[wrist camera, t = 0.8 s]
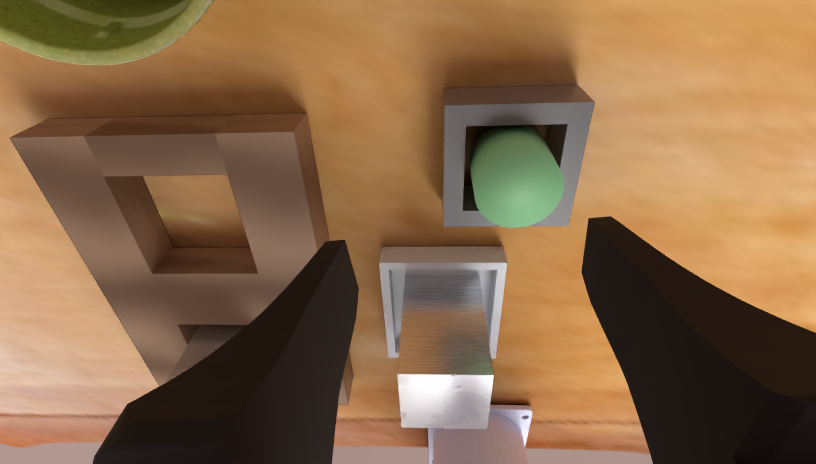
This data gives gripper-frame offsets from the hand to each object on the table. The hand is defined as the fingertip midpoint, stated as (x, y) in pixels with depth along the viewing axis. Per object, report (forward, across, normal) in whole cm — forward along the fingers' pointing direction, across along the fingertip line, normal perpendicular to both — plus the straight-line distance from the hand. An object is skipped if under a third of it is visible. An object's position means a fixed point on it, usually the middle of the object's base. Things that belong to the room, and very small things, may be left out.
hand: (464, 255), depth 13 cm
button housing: (+10, -2, +1) cm, 10 cm away
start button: (+8, -2, +1) cm, 9 cm away
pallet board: (+9, +14, +8) cm, 19 cm away
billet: (+9, +2, +11) cm, 14 cm away
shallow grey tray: (+9, +2, +11) cm, 14 cm away
